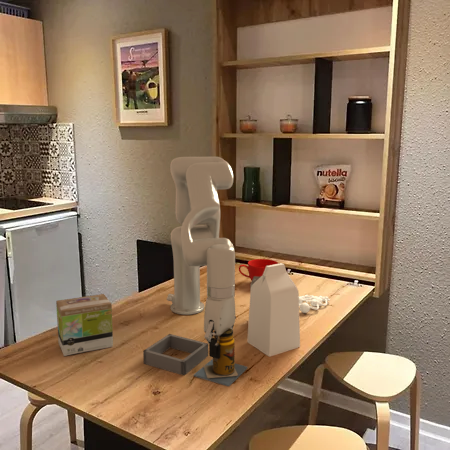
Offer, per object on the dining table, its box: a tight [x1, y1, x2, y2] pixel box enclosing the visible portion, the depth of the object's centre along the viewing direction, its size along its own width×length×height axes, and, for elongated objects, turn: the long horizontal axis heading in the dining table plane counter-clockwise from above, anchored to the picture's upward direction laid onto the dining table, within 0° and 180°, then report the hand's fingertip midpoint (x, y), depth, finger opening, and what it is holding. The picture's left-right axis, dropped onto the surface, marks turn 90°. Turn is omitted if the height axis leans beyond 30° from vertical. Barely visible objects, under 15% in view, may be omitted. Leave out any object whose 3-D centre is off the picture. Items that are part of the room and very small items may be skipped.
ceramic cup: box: [238, 258, 279, 282], centre depth 206 cm, size 13×17×10 cm
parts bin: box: [142, 333, 209, 376], centre depth 141 cm, size 14×13×4 cm
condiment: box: [203, 328, 238, 378], centre depth 133 cm, size 7×8×12 cm
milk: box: [247, 262, 301, 357], centre depth 149 cm, size 12×12×26 cm
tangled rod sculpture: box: [299, 294, 331, 314], centre depth 184 cm, size 19×14×4 cm
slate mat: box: [193, 358, 248, 387], centre depth 135 cm, size 11×11×1 cm
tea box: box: [55, 293, 114, 357], centre depth 149 cm, size 15×10×15 cm
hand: (220, 351), depth 133 cm, fingers closed on condiment, 6 cm apart
